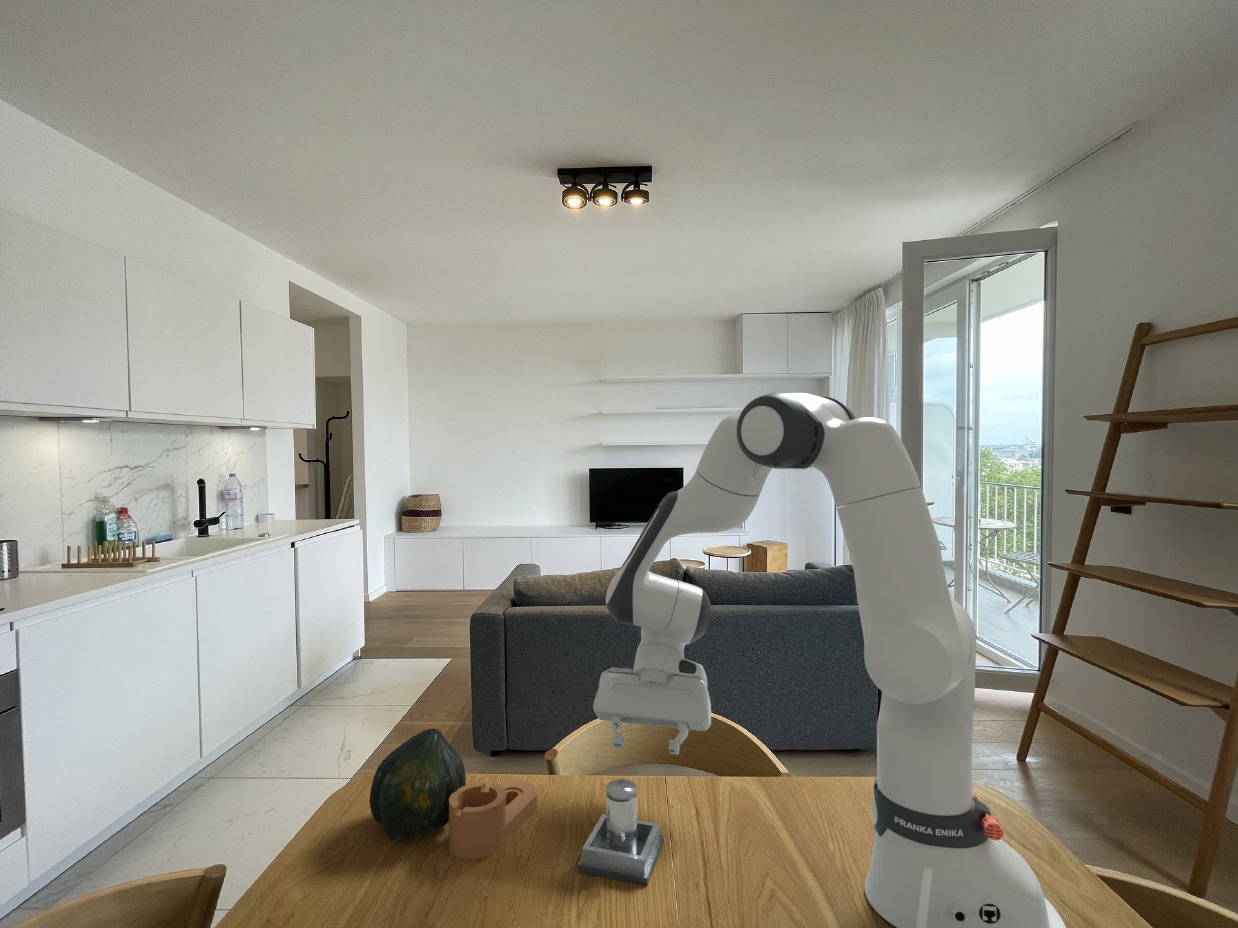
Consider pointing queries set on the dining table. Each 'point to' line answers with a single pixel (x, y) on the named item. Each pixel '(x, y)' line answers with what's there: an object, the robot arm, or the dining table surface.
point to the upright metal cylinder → (622, 816)
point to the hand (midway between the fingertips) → (645, 749)
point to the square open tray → (622, 854)
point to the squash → (416, 786)
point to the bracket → (488, 816)
